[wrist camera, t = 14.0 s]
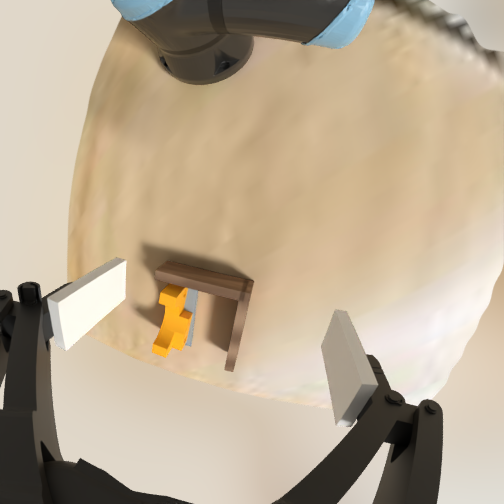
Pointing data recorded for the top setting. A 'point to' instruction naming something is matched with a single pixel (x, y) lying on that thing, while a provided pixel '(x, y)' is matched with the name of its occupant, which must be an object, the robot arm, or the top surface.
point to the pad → (191, 307)
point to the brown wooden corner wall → (215, 286)
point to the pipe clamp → (173, 320)
